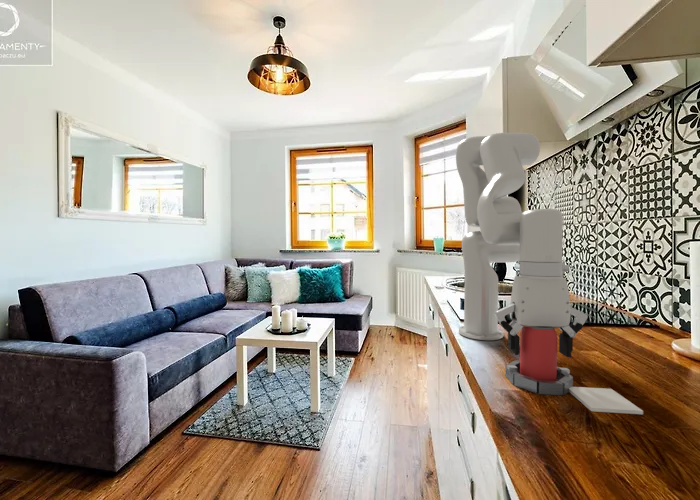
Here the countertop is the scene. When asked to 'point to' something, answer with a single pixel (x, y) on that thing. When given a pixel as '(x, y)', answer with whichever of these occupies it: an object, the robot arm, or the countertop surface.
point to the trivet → (604, 400)
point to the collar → (540, 385)
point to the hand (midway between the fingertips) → (539, 354)
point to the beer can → (538, 353)
